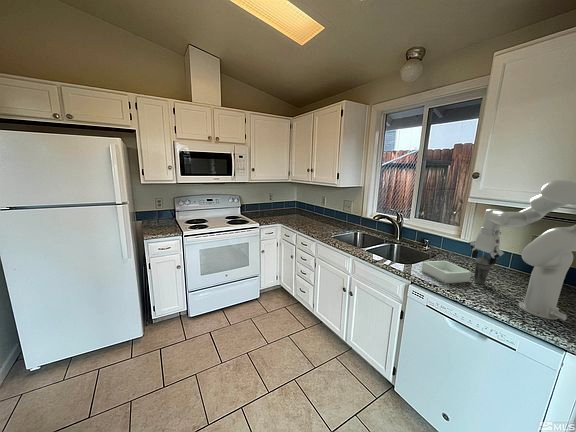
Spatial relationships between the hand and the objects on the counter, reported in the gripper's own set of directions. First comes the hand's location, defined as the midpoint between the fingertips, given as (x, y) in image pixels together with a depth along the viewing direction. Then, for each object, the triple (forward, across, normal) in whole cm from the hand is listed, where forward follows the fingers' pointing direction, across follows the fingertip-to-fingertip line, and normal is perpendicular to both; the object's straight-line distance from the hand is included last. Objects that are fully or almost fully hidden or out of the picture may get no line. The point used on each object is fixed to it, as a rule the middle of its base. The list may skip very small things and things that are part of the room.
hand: (482, 260), depth 131 cm
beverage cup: (+13, -1, 0) cm, 13 cm away
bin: (+13, +9, +14) cm, 21 cm away
